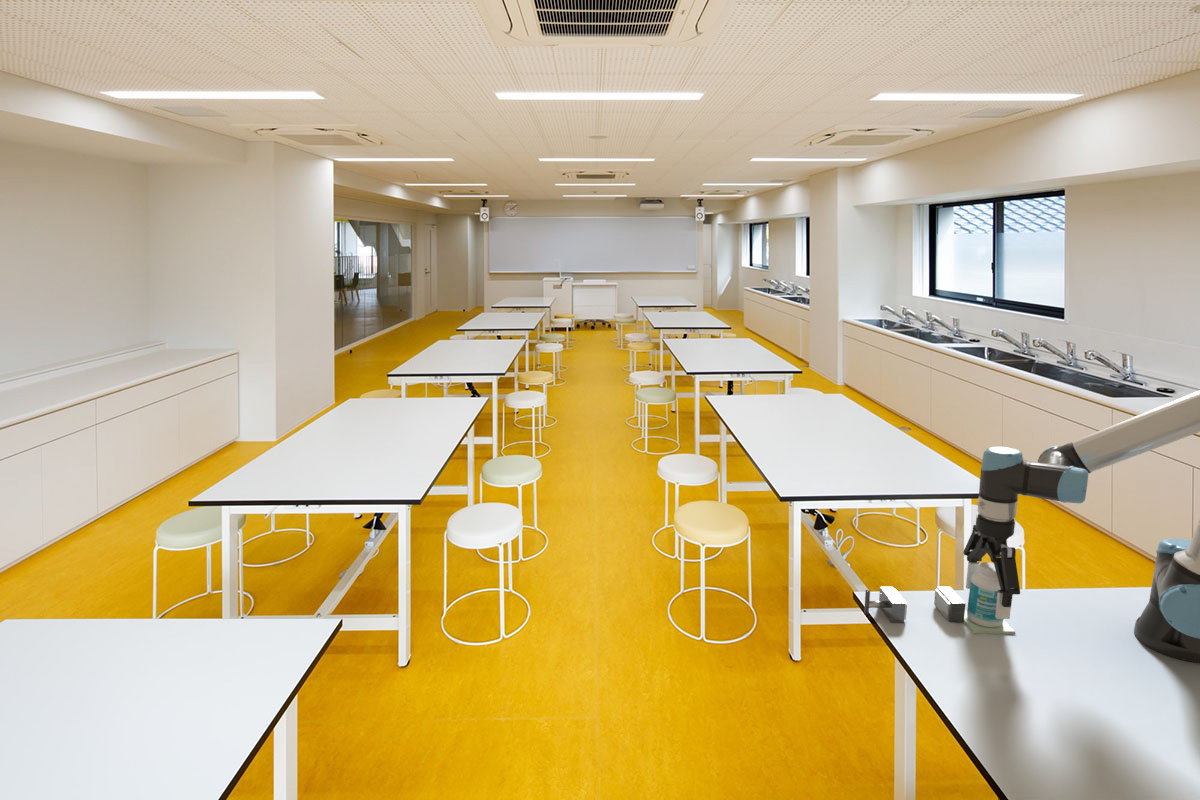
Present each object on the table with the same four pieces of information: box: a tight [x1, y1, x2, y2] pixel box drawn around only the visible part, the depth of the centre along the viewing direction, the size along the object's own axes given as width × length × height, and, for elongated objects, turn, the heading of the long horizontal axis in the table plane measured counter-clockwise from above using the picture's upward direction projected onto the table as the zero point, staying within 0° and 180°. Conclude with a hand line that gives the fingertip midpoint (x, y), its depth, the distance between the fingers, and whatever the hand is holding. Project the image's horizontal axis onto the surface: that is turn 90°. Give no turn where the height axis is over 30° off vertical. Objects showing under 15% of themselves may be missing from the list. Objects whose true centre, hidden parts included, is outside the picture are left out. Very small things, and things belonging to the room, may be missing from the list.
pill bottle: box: [966, 561, 1005, 627], centre depth 156 cm, size 8×7×14 cm
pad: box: [963, 610, 1016, 635], centre depth 158 cm, size 9×9×1 cm
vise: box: [863, 586, 966, 624], centre depth 162 cm, size 21×8×7 cm, turn 87°
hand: (986, 602), depth 157 cm, fingers open, 13 cm apart
